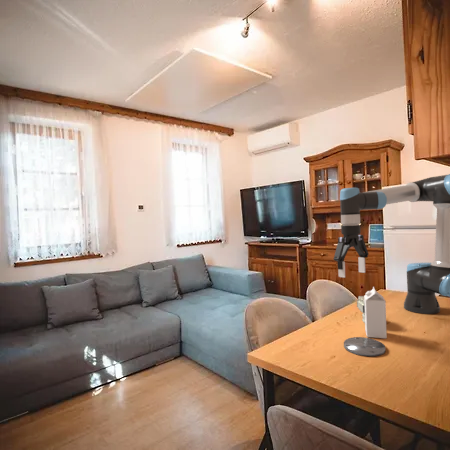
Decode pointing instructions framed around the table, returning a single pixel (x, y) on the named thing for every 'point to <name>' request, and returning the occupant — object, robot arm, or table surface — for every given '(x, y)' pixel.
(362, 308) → the pneumatic valve
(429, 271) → the robot arm
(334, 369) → the table surface
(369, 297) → the milk carton
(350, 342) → the duct flange
